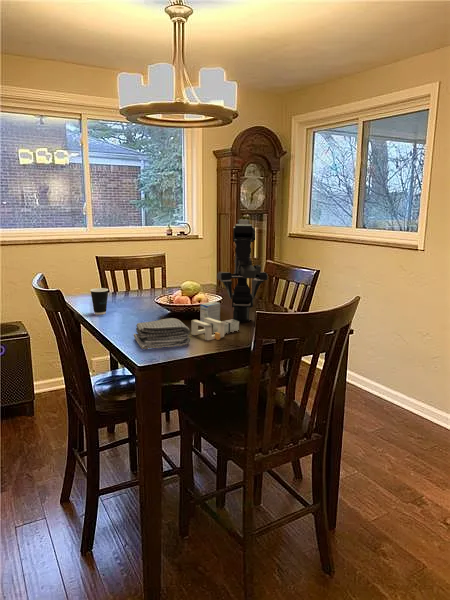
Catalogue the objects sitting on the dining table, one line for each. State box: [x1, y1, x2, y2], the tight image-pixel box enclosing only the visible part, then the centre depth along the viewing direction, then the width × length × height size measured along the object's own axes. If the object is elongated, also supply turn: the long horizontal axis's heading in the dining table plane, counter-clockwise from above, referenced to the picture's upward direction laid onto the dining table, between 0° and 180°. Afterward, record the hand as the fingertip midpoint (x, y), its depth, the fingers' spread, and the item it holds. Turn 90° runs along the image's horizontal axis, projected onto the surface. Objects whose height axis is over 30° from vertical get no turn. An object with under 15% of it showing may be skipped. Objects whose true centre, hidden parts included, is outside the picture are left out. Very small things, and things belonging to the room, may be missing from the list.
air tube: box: [212, 318, 240, 335], centre depth 179 cm, size 10×4×4 cm, turn 129°
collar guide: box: [190, 317, 225, 341], centre depth 172 cm, size 8×12×6 cm
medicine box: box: [199, 301, 221, 326], centre depth 191 cm, size 8×4×9 cm, turn 141°
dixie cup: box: [89, 287, 109, 316], centre depth 205 cm, size 8×8×11 cm
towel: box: [133, 317, 191, 350], centre depth 164 cm, size 15×18×8 cm
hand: (242, 298), depth 174 cm, fingers open, 9 cm apart
